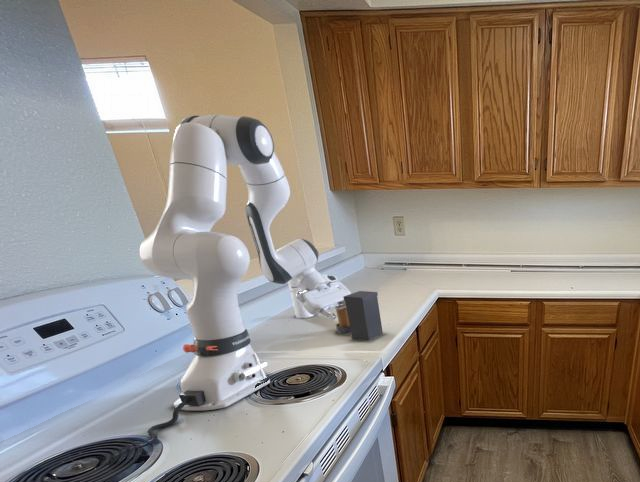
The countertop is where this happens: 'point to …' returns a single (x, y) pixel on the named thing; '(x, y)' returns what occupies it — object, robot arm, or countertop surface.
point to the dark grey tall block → (363, 315)
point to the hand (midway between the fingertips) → (343, 314)
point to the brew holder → (343, 329)
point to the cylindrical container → (297, 301)
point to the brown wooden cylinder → (342, 315)
